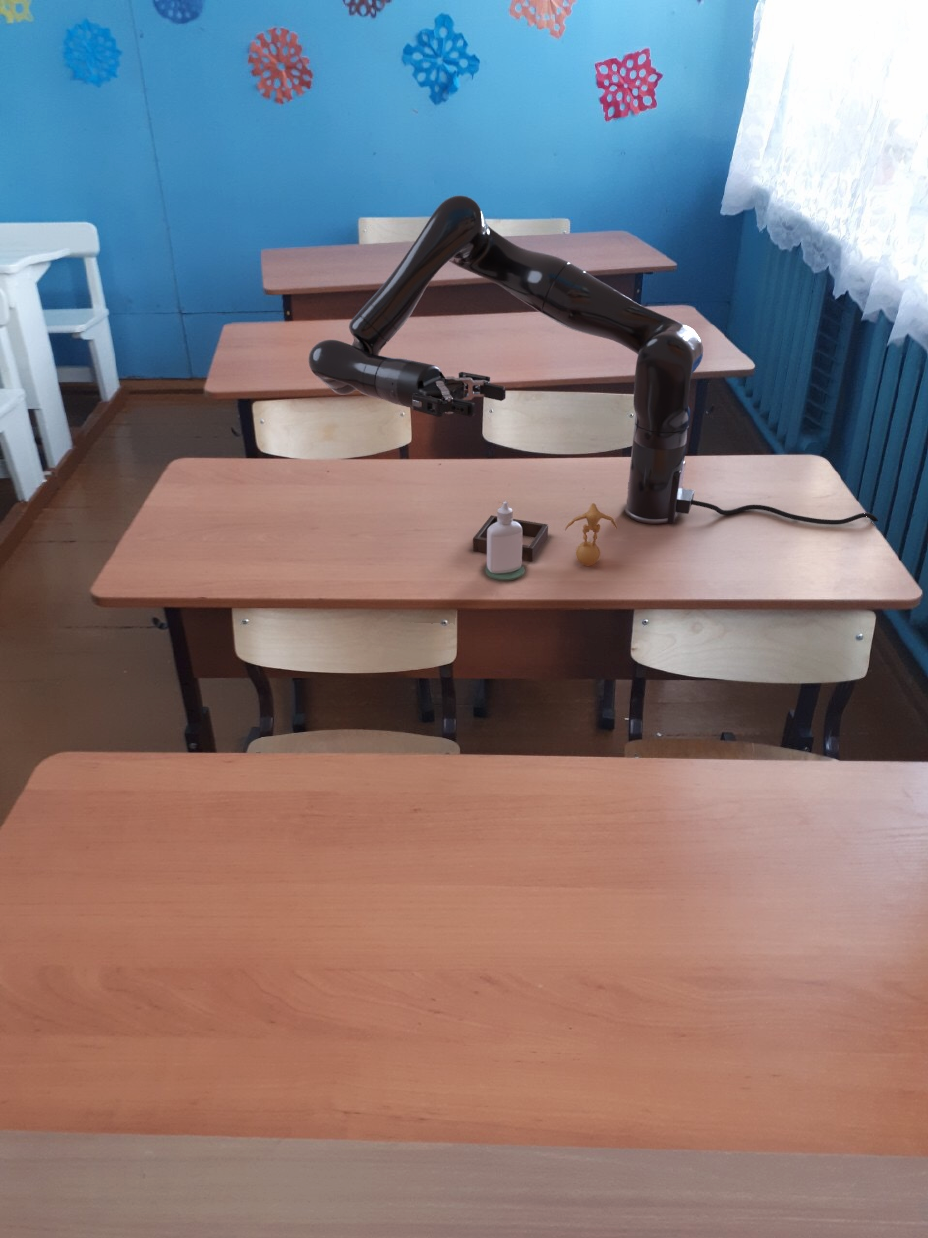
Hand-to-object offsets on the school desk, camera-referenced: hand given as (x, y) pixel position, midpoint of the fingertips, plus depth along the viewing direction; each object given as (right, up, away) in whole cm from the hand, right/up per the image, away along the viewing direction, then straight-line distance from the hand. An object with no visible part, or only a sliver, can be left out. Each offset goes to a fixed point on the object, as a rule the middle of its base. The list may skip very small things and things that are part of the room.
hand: (489, 401), depth 138 cm
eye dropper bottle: (+3, -26, +6) cm, 27 cm away
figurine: (+16, -26, +7) cm, 31 cm away
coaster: (+3, -26, +6) cm, 27 cm away
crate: (+4, -21, +13) cm, 25 cm away
